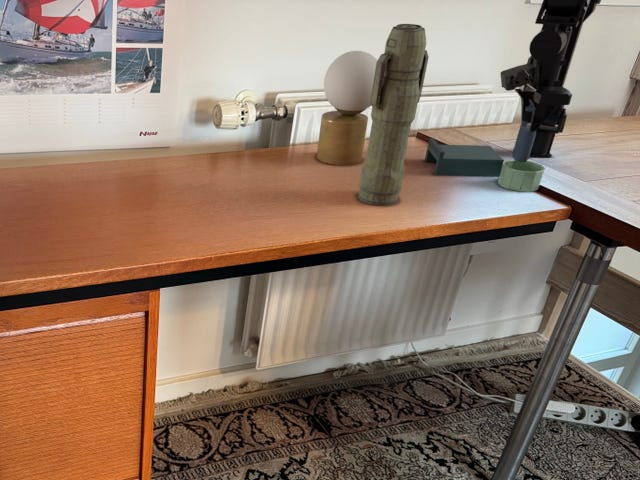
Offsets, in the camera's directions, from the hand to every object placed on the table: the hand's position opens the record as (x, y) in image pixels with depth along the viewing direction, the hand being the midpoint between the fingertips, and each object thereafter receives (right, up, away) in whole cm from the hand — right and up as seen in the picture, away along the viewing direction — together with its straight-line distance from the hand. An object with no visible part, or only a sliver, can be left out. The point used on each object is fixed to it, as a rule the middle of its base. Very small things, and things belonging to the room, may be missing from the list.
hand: (528, 127), depth 155 cm
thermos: (-34, -16, 0) cm, 37 cm away
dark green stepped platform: (-8, -5, +16) cm, 18 cm away
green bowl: (+1, -11, +6) cm, 13 cm away
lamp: (-36, 0, +24) cm, 43 cm away
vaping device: (0, -6, +4) cm, 7 cm away
